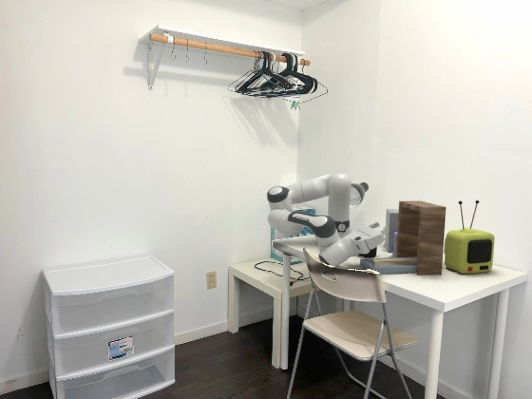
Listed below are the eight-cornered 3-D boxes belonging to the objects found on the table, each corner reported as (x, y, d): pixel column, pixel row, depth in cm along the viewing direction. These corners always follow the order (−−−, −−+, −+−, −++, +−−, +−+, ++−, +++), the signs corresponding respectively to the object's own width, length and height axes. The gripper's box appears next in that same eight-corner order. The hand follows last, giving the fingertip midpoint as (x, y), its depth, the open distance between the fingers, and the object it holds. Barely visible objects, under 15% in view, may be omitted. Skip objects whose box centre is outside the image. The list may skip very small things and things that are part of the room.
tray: (359, 265, 178) (360, 258, 177) (416, 263, 182) (417, 256, 181) (372, 275, 164) (373, 267, 163) (434, 272, 168) (434, 265, 167)
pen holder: (373, 259, 187) (374, 238, 186) (354, 256, 192) (354, 235, 191) (379, 255, 195) (380, 234, 194) (360, 252, 200) (361, 232, 199)
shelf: (396, 261, 183) (399, 200, 180) (416, 261, 185) (420, 200, 181) (419, 275, 164) (422, 207, 160) (441, 274, 165) (446, 207, 162)
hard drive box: (403, 253, 199) (405, 213, 197) (387, 252, 200) (389, 212, 198) (398, 245, 214) (400, 208, 212) (384, 245, 216) (385, 208, 213)
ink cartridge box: (413, 257, 191) (414, 227, 189) (415, 260, 185) (416, 229, 184) (391, 256, 193) (393, 226, 191) (392, 259, 187) (394, 228, 186)
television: (463, 276, 163) (468, 203, 159) (433, 264, 180) (437, 197, 177) (497, 273, 168) (503, 201, 164) (465, 261, 185) (470, 196, 182)
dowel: (371, 266, 173) (371, 259, 172) (415, 264, 176) (415, 257, 175) (374, 268, 170) (374, 261, 169) (418, 266, 173) (419, 259, 172)
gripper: (349, 243, 179) (376, 227, 180) (368, 255, 159) (397, 237, 160) (343, 231, 178) (369, 215, 179) (361, 241, 158) (390, 223, 159)
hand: (383, 225), depth 169 cm, fingers open, 8 cm apart
